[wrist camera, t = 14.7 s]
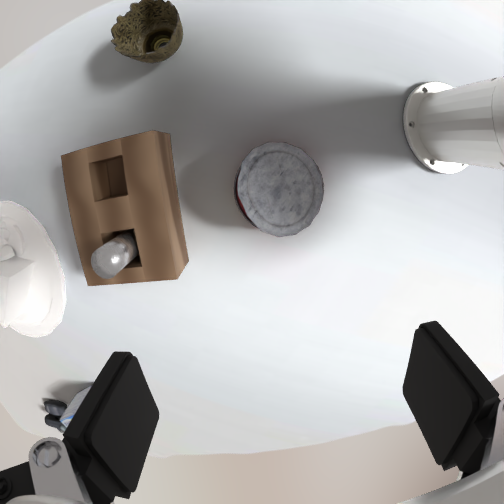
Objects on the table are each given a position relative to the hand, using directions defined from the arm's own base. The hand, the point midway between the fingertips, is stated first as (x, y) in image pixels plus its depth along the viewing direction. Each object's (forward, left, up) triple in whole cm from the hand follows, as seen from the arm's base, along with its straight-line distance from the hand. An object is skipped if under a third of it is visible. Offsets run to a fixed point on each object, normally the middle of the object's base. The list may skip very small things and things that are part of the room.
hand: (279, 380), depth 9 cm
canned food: (-2, -3, -29) cm, 29 cm away
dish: (+43, +4, -29) cm, 52 cm away
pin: (+16, +1, -27) cm, 31 cm away
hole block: (+16, -3, -28) cm, 33 cm away
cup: (+10, -23, -28) cm, 38 cm away
